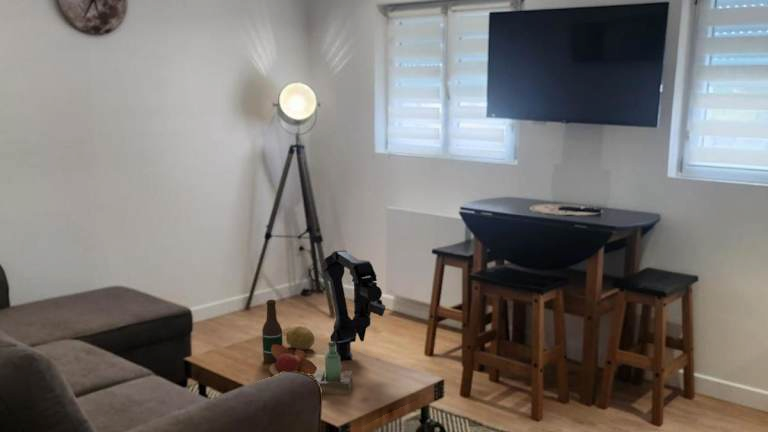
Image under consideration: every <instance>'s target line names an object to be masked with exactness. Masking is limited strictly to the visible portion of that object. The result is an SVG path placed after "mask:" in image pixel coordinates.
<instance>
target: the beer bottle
mask: <svg viewBox="0 0 768 432" xmlns="http://www.w3.org/2000/svg"><path fill="white" fill-rule="evenodd" d="M276 304H277V302H276V300H274V299H268V300H266V319H265V322H264V324H263V327H262V330H261V333H262V353H263V354H262V357H263V362H264V363H265V364H268V365H274V364H273V363H276V361H277V359H276V358H275V357H274V356H273V354H272V352H271V348H272V345H273V344H280V345H282V346H284V345H283V331H282V327H281V324H280V322H279V321H278V317H277V309H276V307H277V306H276Z"/></svg>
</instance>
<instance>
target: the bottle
mask: <svg viewBox="0 0 768 432" xmlns="http://www.w3.org/2000/svg"><path fill="white" fill-rule="evenodd" d="M328 347H329V348H328V349H329V351H328V352H327V353H326V355H325V357H324V365H325V366H324V367H325V369H324V371H325V379H326V381H341V379H342V378H341V375H342V373H341V360H340V355H338V353H337V352H336V342H334V341H331V340H330V341H328Z"/></svg>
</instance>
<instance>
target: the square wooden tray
mask: <svg viewBox="0 0 768 432" xmlns="http://www.w3.org/2000/svg"><path fill="white" fill-rule="evenodd" d="M315 379H316V380H317V381H318V383H319V384H320V387H321V389H322V395H323V396H324V395H326V396H328V395H329V396H330V395H331V396H349V395H350V392H351V388H352V384H353V370H345V372H344V376H343V378H341V381H326V373H325V370H318V371H317V373H316V376H315V378H314V380H315ZM322 395H321V396H322Z"/></svg>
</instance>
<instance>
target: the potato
mask: <svg viewBox="0 0 768 432" xmlns="http://www.w3.org/2000/svg"><path fill="white" fill-rule="evenodd" d="M285 341H286V343H287V344H288V346H290V347H291V348H293V349H295V350H297V349H298V350H300V351H304V350H307V349H310V348H311V347H312V346H313V345H314V344H315V335H314V334H313V332H312V330H310V329H309V328H308V327H305V326H302V325H298V326H294V327H292V328H289V330H287V332H286V335H285Z"/></svg>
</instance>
